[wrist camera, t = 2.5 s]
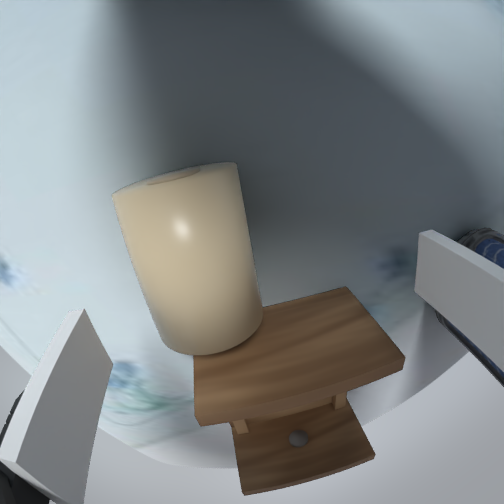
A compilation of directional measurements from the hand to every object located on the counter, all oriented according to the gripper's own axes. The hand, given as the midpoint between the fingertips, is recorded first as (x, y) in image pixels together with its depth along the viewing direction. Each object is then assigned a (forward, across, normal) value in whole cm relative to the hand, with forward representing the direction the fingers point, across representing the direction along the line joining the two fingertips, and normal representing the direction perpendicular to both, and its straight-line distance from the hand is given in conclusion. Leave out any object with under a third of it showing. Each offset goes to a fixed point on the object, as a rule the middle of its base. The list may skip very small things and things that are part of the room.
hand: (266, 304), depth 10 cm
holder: (+8, +1, -12) cm, 15 cm away
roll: (+5, -3, 0) cm, 6 cm away
